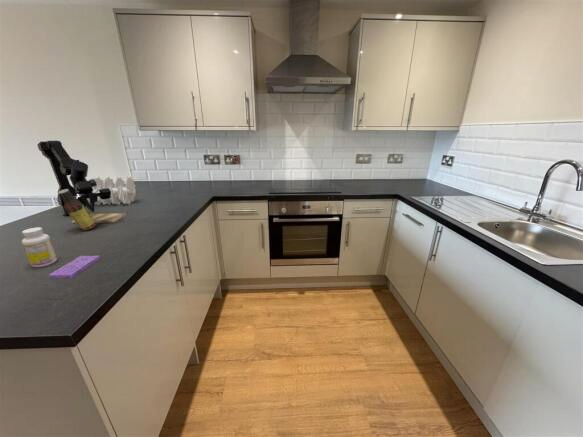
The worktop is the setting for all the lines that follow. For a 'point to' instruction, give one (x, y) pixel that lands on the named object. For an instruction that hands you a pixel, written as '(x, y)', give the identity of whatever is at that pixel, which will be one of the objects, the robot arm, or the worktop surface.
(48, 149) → the robot arm
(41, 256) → the supplement bottle
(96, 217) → the beech cutting board
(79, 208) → the sauce bottle
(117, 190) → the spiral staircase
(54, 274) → the sponges
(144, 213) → the worktop surface
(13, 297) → the worktop surface
